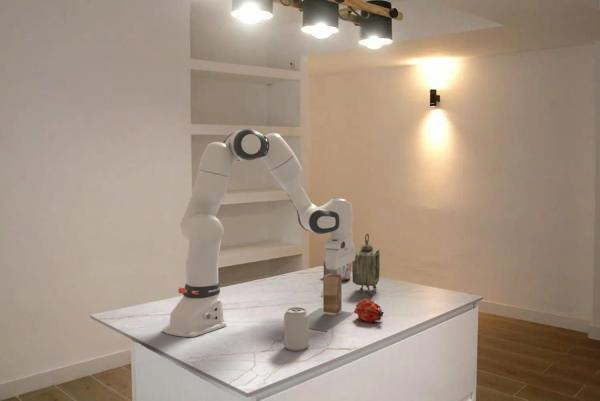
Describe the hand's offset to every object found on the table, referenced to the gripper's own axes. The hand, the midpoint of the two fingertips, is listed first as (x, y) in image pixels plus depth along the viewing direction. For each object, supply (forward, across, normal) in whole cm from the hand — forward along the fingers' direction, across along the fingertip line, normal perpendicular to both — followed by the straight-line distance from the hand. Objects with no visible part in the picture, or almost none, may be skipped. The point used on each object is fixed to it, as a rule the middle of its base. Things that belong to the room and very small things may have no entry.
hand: (341, 277), depth 213 cm
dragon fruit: (+12, +10, +15) cm, 22 cm away
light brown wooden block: (+12, +8, 0) cm, 14 cm away
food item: (+12, -45, -22) cm, 52 cm away
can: (+12, +45, +5) cm, 47 cm away
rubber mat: (+12, +16, 0) cm, 20 cm away
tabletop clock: (+12, -28, -1) cm, 31 cm away
